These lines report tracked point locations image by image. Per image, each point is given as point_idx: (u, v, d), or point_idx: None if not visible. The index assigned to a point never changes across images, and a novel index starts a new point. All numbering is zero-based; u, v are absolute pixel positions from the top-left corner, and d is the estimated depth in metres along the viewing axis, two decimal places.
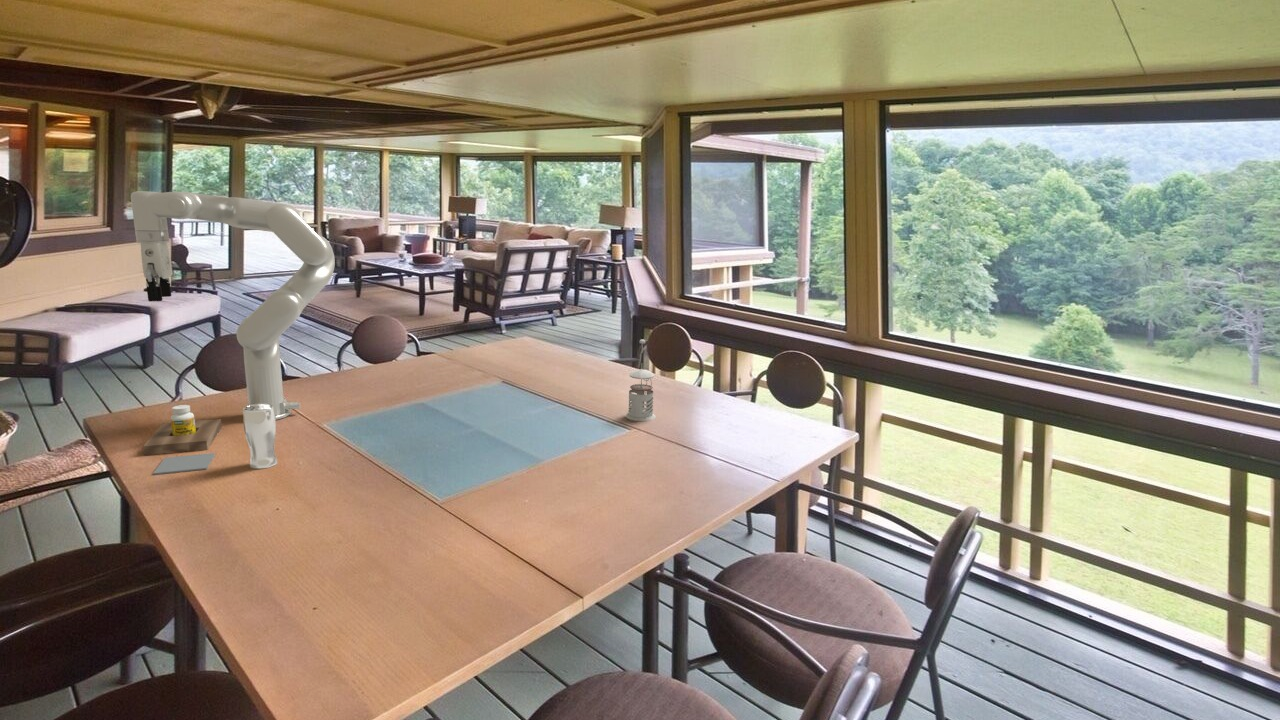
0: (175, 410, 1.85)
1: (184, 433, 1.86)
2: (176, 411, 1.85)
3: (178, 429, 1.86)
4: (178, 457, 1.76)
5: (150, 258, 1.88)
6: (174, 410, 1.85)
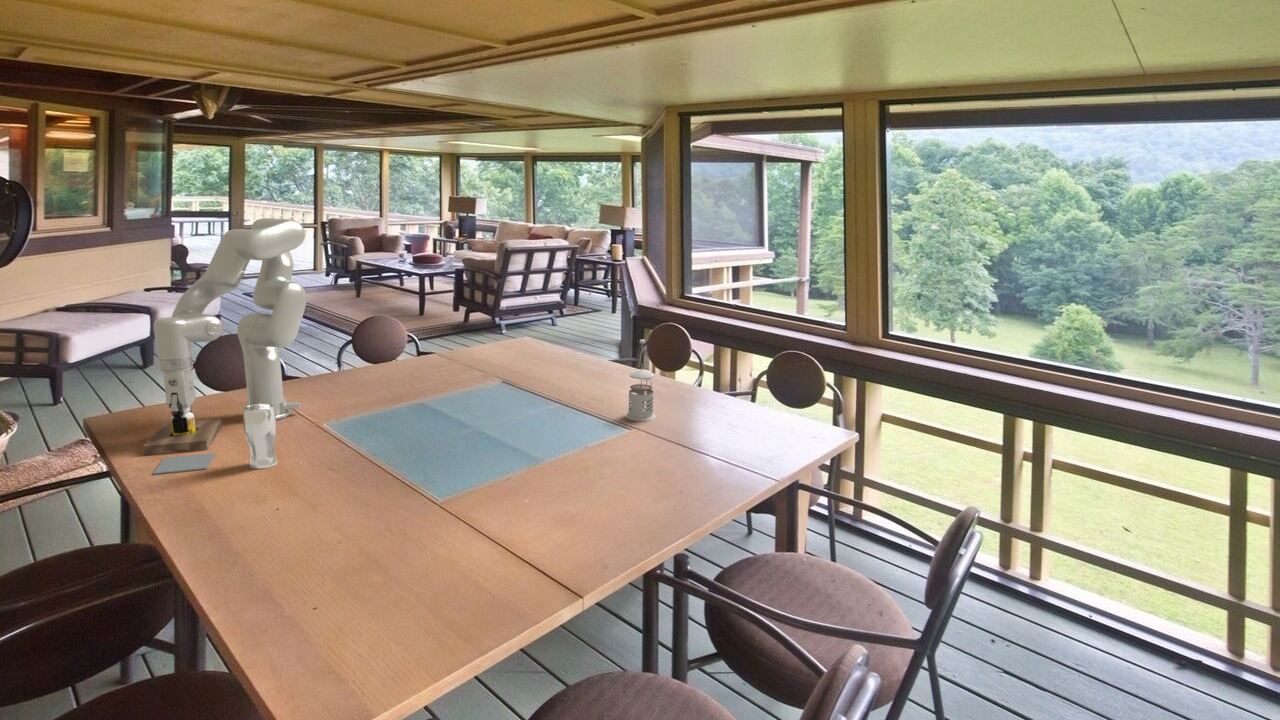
0: None
1: (184, 433, 1.86)
2: None
3: None
4: (178, 457, 1.76)
5: (174, 388, 1.81)
6: None
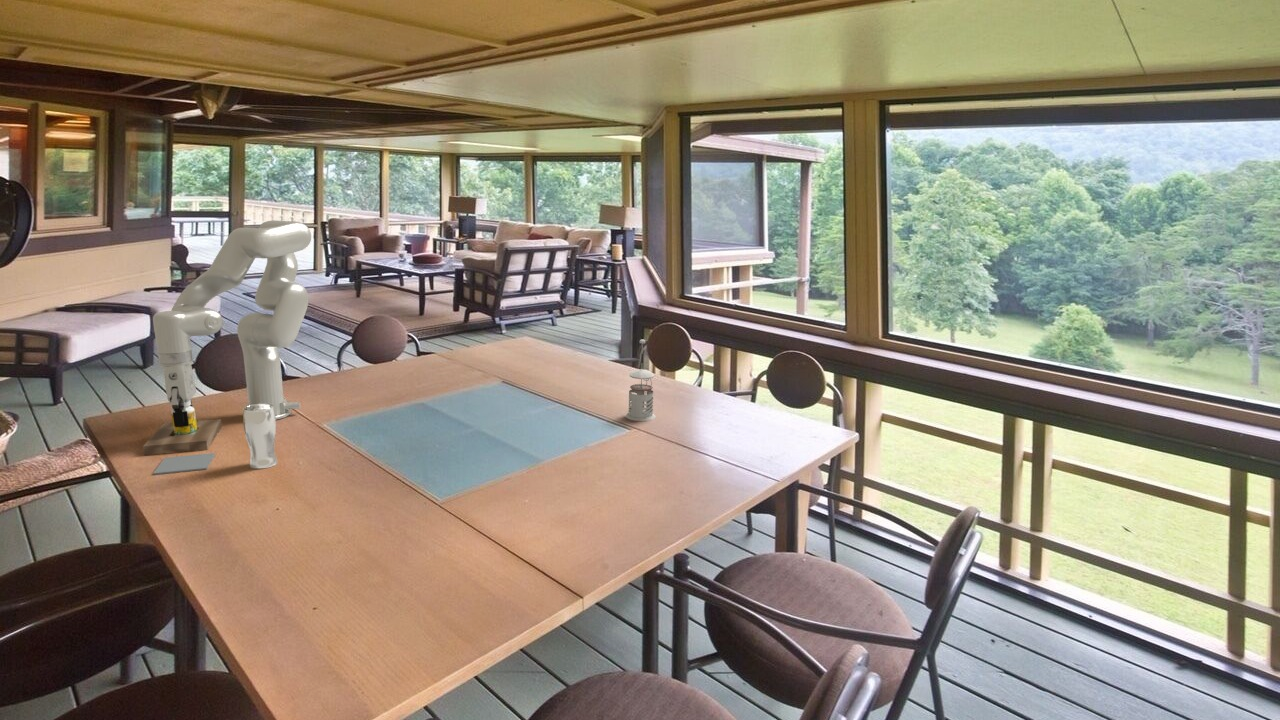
0: None
1: (185, 427, 1.86)
2: None
3: None
4: (178, 457, 1.76)
5: (174, 382, 1.81)
6: None
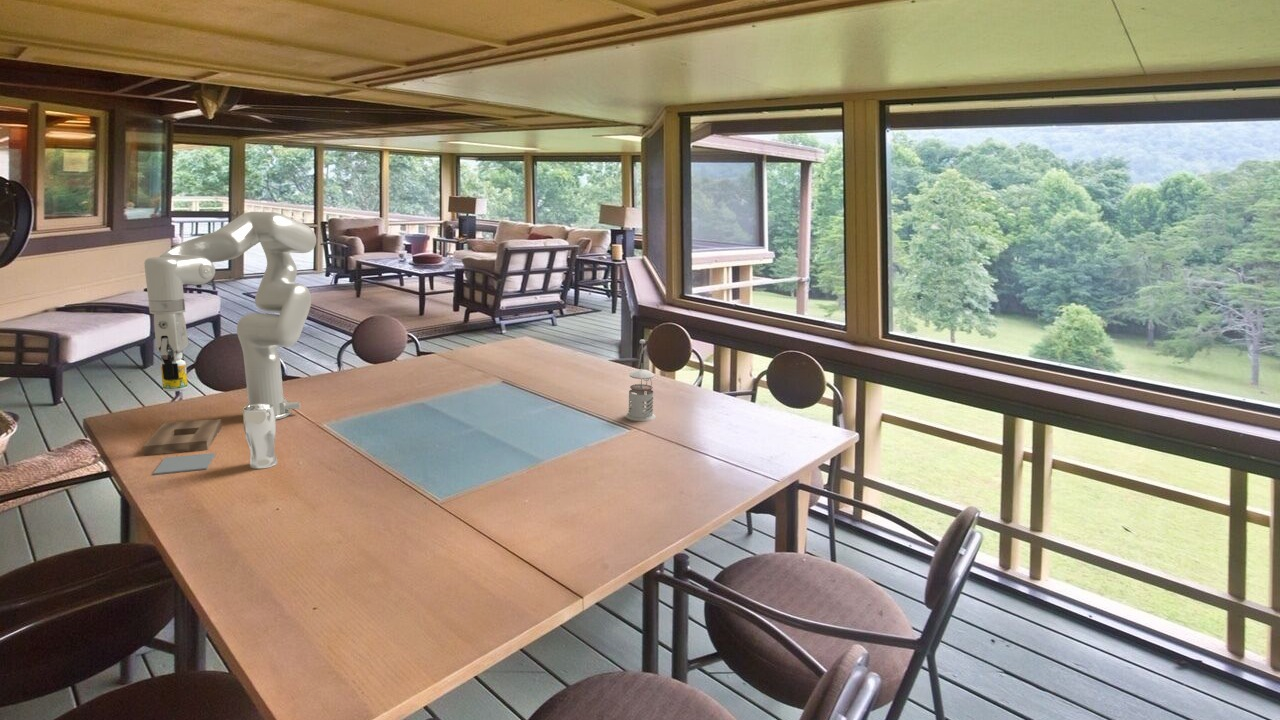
0: None
1: (174, 380, 1.77)
2: None
3: None
4: (178, 457, 1.76)
5: (164, 331, 1.72)
6: None
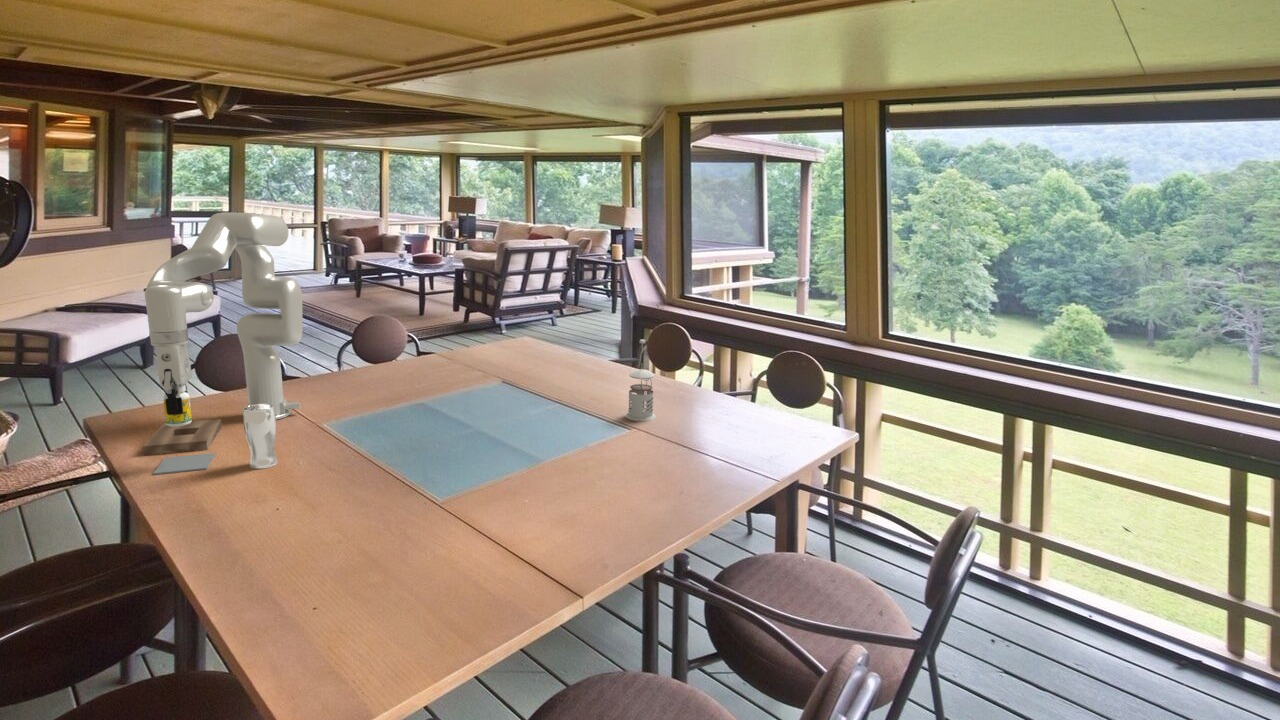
0: None
1: (178, 415, 1.67)
2: None
3: None
4: (178, 457, 1.76)
5: (167, 364, 1.62)
6: None
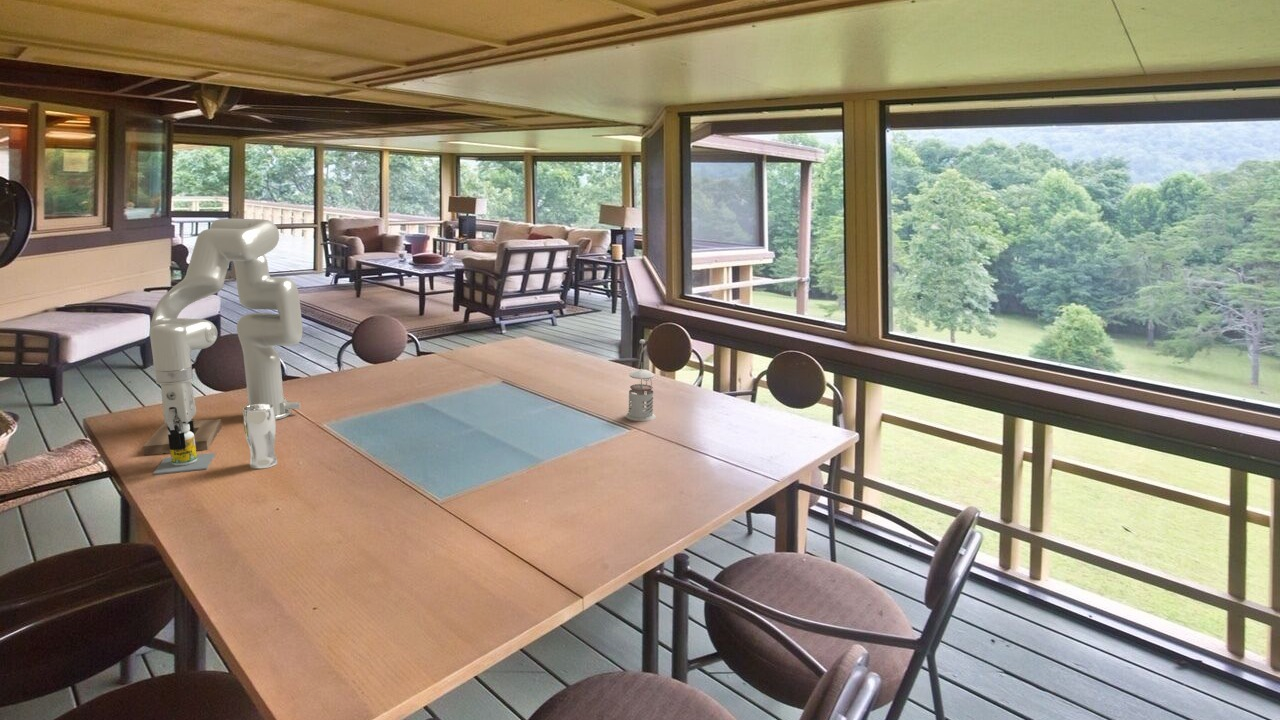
0: None
1: (183, 454, 1.70)
2: None
3: (176, 451, 1.69)
4: None
5: (172, 402, 1.64)
6: None
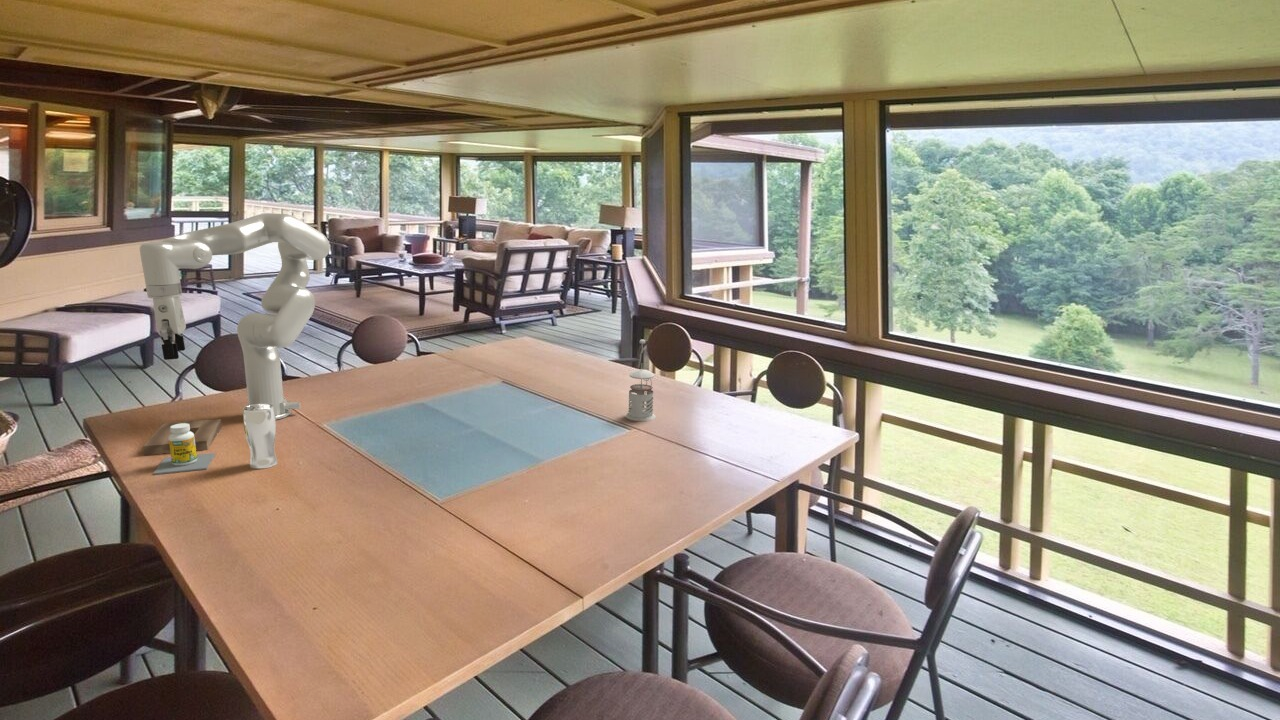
0: (173, 429, 1.69)
1: (183, 455, 1.70)
2: (175, 430, 1.69)
3: (176, 451, 1.69)
4: None
5: (164, 314, 1.76)
6: (172, 429, 1.69)
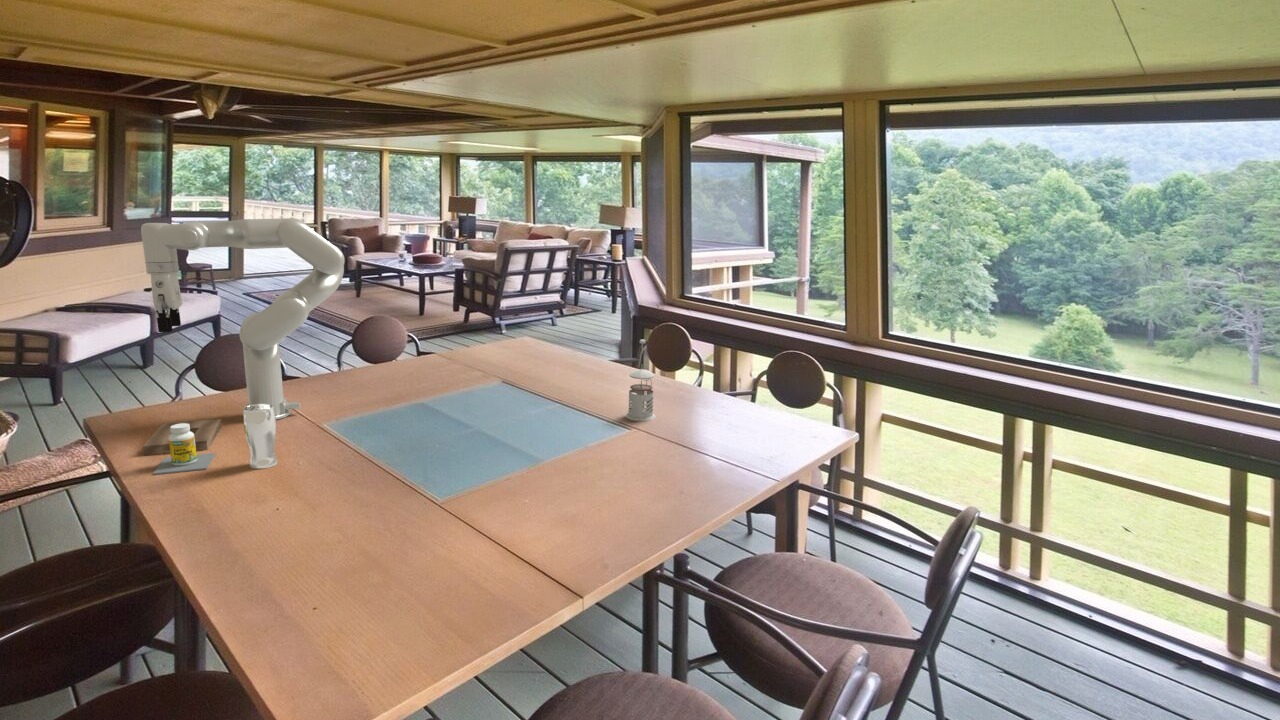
0: (173, 429, 1.69)
1: (183, 455, 1.70)
2: (175, 430, 1.69)
3: (176, 451, 1.69)
4: None
5: (160, 289, 1.89)
6: (172, 429, 1.69)
